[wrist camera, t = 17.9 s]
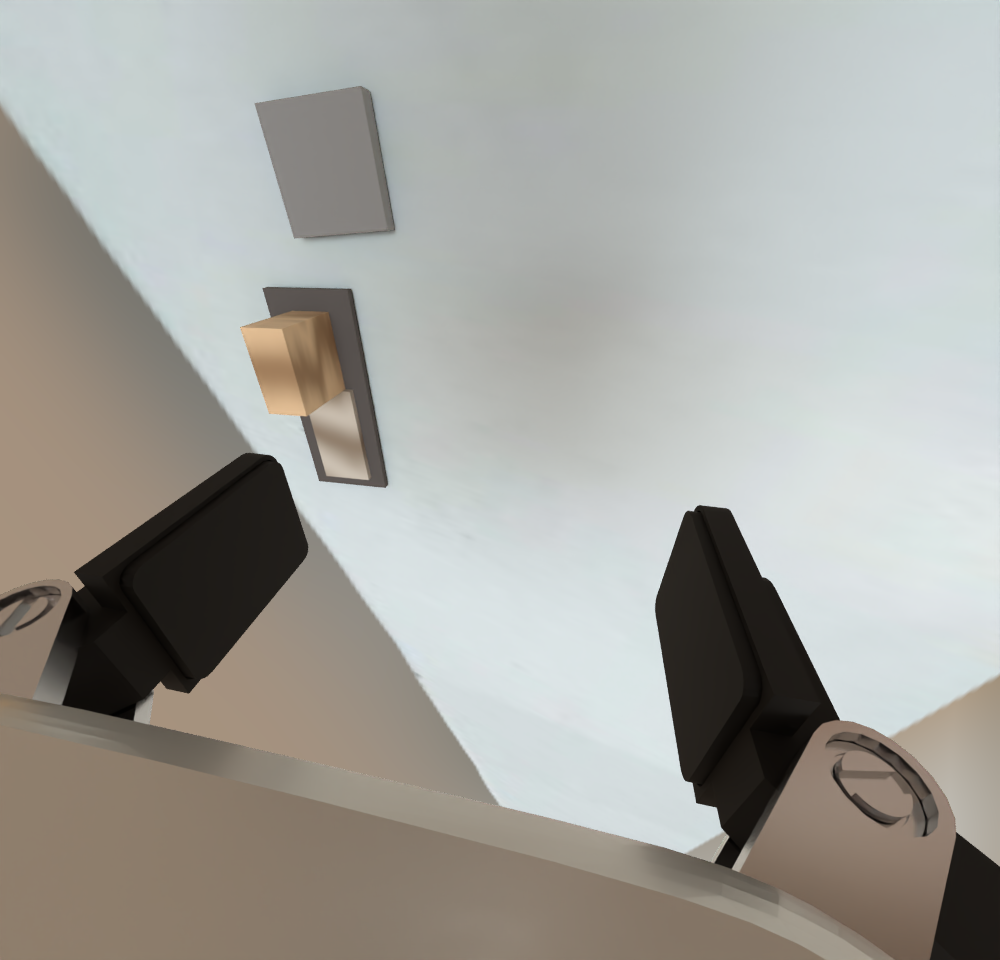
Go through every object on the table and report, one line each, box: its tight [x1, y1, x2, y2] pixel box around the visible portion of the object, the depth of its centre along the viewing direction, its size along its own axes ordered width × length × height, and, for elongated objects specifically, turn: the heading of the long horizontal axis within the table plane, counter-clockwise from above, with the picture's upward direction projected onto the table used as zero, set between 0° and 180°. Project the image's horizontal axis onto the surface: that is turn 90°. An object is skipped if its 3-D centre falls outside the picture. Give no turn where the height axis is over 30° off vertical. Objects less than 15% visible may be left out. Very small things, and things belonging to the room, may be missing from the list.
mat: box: [263, 287, 388, 488], centre depth 40 cm, size 20×8×1 cm, turn 0°
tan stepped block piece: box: [240, 311, 371, 480], centre depth 38 cm, size 17×5×6 cm, turn 0°
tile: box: [255, 86, 395, 238], centre depth 30 cm, size 8×2×8 cm
